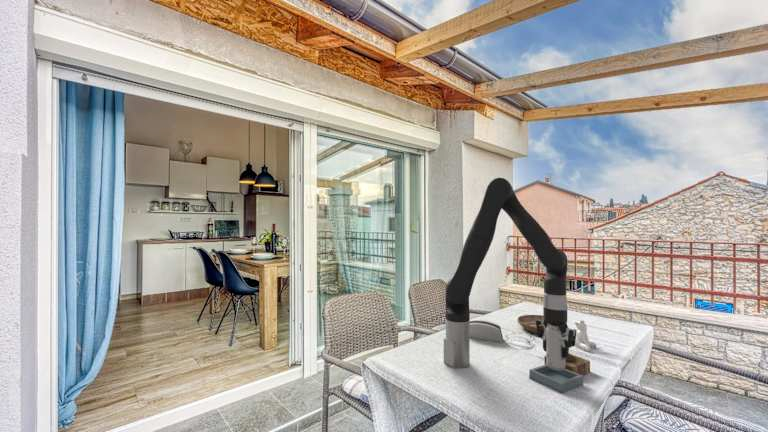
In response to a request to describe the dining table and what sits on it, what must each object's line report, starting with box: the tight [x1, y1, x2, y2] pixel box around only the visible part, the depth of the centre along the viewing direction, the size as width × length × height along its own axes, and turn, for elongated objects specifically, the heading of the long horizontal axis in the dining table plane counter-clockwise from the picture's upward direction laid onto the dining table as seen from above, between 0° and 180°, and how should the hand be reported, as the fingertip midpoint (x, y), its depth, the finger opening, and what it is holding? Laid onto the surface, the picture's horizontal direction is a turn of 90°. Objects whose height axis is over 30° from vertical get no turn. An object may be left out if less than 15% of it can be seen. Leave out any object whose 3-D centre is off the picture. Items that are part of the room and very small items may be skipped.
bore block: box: [544, 353, 591, 376], centre depth 126 cm, size 12×12×4 cm
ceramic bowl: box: [516, 314, 546, 334], centre depth 172 cm, size 23×24×5 cm
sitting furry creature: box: [574, 319, 597, 353], centre depth 148 cm, size 10×9×12 cm
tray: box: [528, 364, 584, 394], centre depth 116 cm, size 12×12×3 cm
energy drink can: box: [545, 324, 566, 371], centre depth 117 cm, size 6×6×15 cm
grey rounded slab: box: [470, 319, 504, 343], centre depth 159 cm, size 17×5×10 cm, turn 60°
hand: (555, 354), depth 116 cm, fingers closed on energy drink can, 6 cm apart
